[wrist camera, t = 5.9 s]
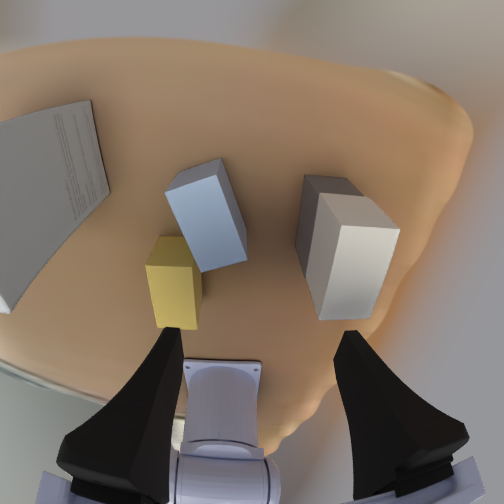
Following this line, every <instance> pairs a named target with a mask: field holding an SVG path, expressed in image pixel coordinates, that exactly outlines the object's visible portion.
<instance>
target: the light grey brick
mask: <svg viewBox="0 0 504 504" xmlns="http://www.w3.org/2000/svg"><path fill="white" fill-rule="evenodd" d="M399 232H400V229H399V227H398V226H397V225H396V224H395V223H394V222H393V221H392V220H391V219H390V218H389V217H388V216H387V215H386V214H385V213H384V212H383V211H382V210H381V209H380V208H379V207H378V206H377V205H376V204H375V203H374V202H373V201H372V200H371V199H370V198H369V197H363V196H353V195H342V194H331V193H320V194H319V200H318V207H317V213H316V219H315V225H314V231H313V237H312V243H311V249H310V254H309V260H308V265H307V270H306V279H307V283H308V286H309V289H310V293H311V296H312V300H313V303H314V306H315V310H316V313H317V317H318V320H347V319H369V318H370V316H371V313H372V311H373V308H374V306H375V303H376V300H377V298H378V295H379V292H380V290H381V287H382V284H383V281H384V279H385V276H386V273H387V270H388V267H389V264H390V261H391V258H392V255H393V252H394V249H395V245H396V242H397V239H398V235H399Z"/></svg>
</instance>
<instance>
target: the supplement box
mask: <svg viewBox="0 0 504 504" xmlns="http://www.w3.org/2000/svg"><path fill="white" fill-rule="evenodd" d="M109 194H110V191H109V187H108V183H107V179H106V175H105V171H104V167H103V163H102V158H101V154H100V150H99V145H98V140H97V135H96V130H95V125H94V120H93V114H92V108H91V102H90V100H87V101H81V102H76V103H71V104H67V105H62V106H58V107H53V108H49V109H45V110H41V111H37V112H33V113H30V114H26V115H23V116H19V117H16V118H13V119H10V120H7V121H3V122H0V313H8V314H10V313H11V312H12V311H13V309H14V308H15V306H16V304H17V303H18V301H19V300H20V298H21V297H22V295H23V294H24V292H25V291H26V290H27V288H28V287H29V285H30V284H31V283H32V281H33V280H34V279H35V277H36V276H37V275H38V274H39V272H40V271H41V270H42V269H43V267H44V266H45V265H46V264H47V262H48V261H49V260H50V259H51V258H52V256H53V255H54V254H55V253H56V252H57V251H58V249H59V248H60V247H61V246H62V245H63V244H64V242H65V241H66V240H67V239H68V238H69V237H70V236H71V235H72V233H73V232H74V231H75V230H76V229H77V228H78V227H79V226H80V225H81V224H82V222H83V221H84V220H85V219H86V218H87V217H88V216H89V215H90V214H91V213H92V212H93V211H94V210H95V209H96V208H97V207H98V205H99V204H100V203H101V202H102V201H103V200H104V199H105V198H106V197H107V196H108V195H109Z"/></svg>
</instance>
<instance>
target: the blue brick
mask: <svg viewBox="0 0 504 504" xmlns="http://www.w3.org/2000/svg"><path fill="white" fill-rule="evenodd" d="M165 195H166V197H167V199H168V202H169V204H170V206H171V208H172V211H173V213H174V215H175V217H176V220H177V222H178V224H179V226H180V229H181V231H182V233H183V235H184V237H185V239H186V242H187V244H188V246H189V248H190V250H191V252H192V254H193V257H194V259H195V261H196V263H197V265H198V267H199V269H200V271H201V273H202V272H205V271H209V270H213V269H216V268H220V267H224V266H227V265H231V264H235V263H238V262H242V261H246V260H248V255H247V230H246V227H245V224H244V221H243V219H242V216H241V213H240V210H239V207H238V204H237V202H236V199H235V196H234V193H233V190H232V187H231V185H230V182H229V179H228V176H227V173H226V170H225V168H224V165H223V162H222V159H221V158H219V159H216V160H213V161H210V162H207V163H204V164H201V165H198V166H195V167H193V168H190V169H187V170H184V171H181V172H179V173H178V174H177V175H176V177H175V178H174V180H173V181H172V182H171V184H170V185H169V187H168V188H167V190H166V191H165Z"/></svg>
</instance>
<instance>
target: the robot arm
mask: <svg viewBox="0 0 504 504" xmlns="http://www.w3.org/2000/svg"><path fill="white" fill-rule="evenodd" d="M333 361H334V368H335V374H336V380H337V384H338V387H339V391H340V394H341V398H342V401H343V405H344V408H345V412H346V415H347V420H348V424H349V430H350V437H351V446H352V456H353V475H354V486H353V488H354V489H353V499H354V501H352V502H347V503H342V504H471V503H473V502H474V501H476V500H478V499H479V498H481V497H482V496H484V495H485V494H486V493H485V489H484V486H483V483H482V480H481V477H480V474H479V471H478V468H477V465H476V462H475V459H474V457H473V456H472V457H470V458H468V459H466V460H464V461H462V462H459V463H458V464H456V465H454V466H451V462H452V461H453V456H452V454H453V453H454V452H456V451H457V450H458V449H460V448H461V447H462V446H464V445H465V444H466V443H467V442H468V440H469V435H468V432H467V430H466V428H465V425H464V423H462V422H460V421H458V420H456V419H454V418H452V417H450V416H448V415H446V414H445V413H443V412H441V411H440V410H438V409H436V408H435V407H433V406H432V405H430V404H429V403H427V402H426V401H425V400H423V399H422V398H421V397H419V396H418V395H417V394H416V393H414V392H413V391H412V390H411V389H410V388H409V387H408V386H407V385H405V384H404V383H403V382H402V381H401V380H400V379H399V378H398V377H397V376H396V375H395V374H394V373H393V372H392V371H391V370H390V368H388V367H387V365H386V364H385V363H384V362H383V361H382V359H381V358H380V357H379V356H378V355H377V354H376V352H375V351H374V350H373V349H372V348H371V347H370V345H369V344H368V343H367V342H366V340H365V339H364V338H363V337H362V336H361V334H360V333H359V332H358V331H357V330H350V331H345V332H344V334H343V337H342V339H341V342H340V344H339V347H338V349H337V352H336V354H335V357H334V359H333ZM183 369H184V374H185V379H186V384H187V389H188V398H187V406H186V415H185V425H184V434H183V442H181V447H180V454H179V451H178V450H172V452H170V448H171V435H172V426H173V419H174V414H175V409H176V405H177V400H178V395H179V390H180V386H181V381H182V374H183ZM260 374H261V363H260V362H250V361H212V360H193V359H185V360H184V354H183V347H182V340H181V332H180V328H177V327H165V328H164V329H163V331H162V333H161V335H160V336H159V338H158V340H157V341H156V343H155V345H154V346H153V348H152V349H151V351H150V352H149V354H148V355H147V357H146V358H145V360H144V361H143V363H142V364H141V365H140V367H139V368H138V369H137V371H136V372H135V373H134V375H133V376H132V377H131V378H130V380H129V381H128V382H127V383H126V384H125V386H124V387H123V388H122V389H121V390H120V391H119V392H118V393H117V394H116V395H115V396H114V397H113V398H112V399H111V400H110V401H109V402H108V403H107V404H106V405H105V406H104V407H103V408H102V409H101V410H100V411H98V412H97V413H96V414H95V415H94V416H92V417H91V418H90V419H89V420H87V421H86V422H85V423H83V424H82V425H81V426H79V427H78V428H76V429H75V430H73V431H72V432H70V433H69V434H67V435H66V436H65V437H64V440H63V442H62V444H61V446H60V450H59V453H58V457H57V460H56V463H57V464H58V466H59V467H60V468H62V469H63V470H64V471H66V472H67V473H68V474H70V475H71V476H73V480H72V482H71V481H68V480H66V479H64V478H61V477H59V476H56V475H54V474H51V473H49V472H46V471H43V472H42V477H41V480H40V484H39V489H38V493H37V498H36V503H35V504H279V500H280V493H281V482H280V474H279V470H278V467H277V465H276V464H275V463H274V462H273V460H272V459H271V458H270V457H264V449H263V448H258V428H257V408H256V402H257V395H258V388H259V381H260Z"/></svg>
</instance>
